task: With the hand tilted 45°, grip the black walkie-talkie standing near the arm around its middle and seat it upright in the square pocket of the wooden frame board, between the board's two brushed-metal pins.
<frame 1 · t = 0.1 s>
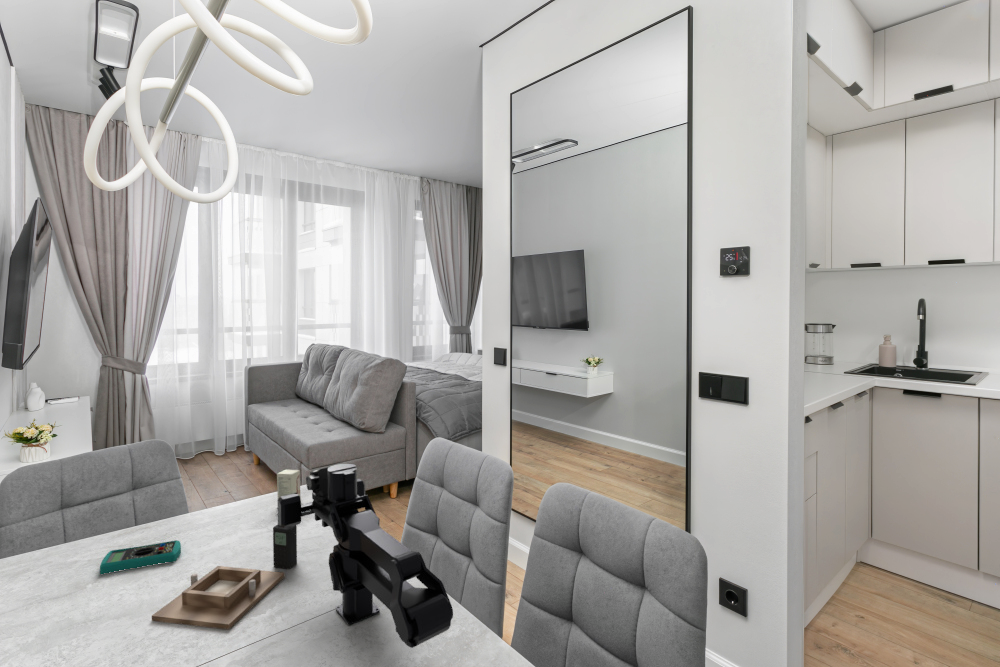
hand: (309, 491, 116), 17 cm above the table, tool horizontal, fingers open, 9 cm apart
digital multimeter: (142, 563, 116), on the table
walkie-talkie: (286, 565, 115), on the table
skincare box: (289, 505, 149), on the table
wooden frame board: (223, 597, 102), on the table
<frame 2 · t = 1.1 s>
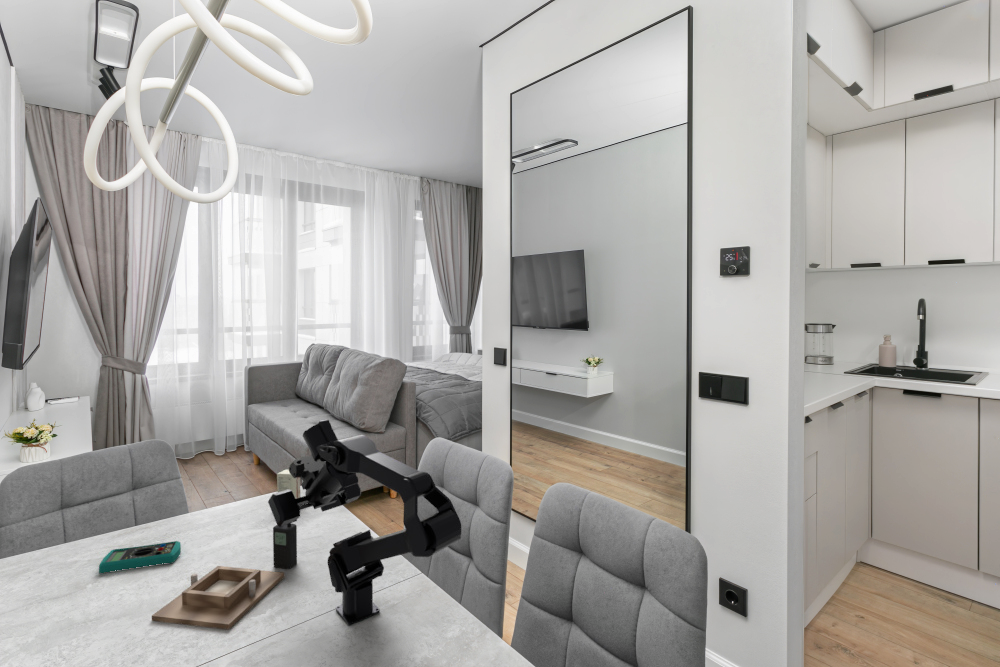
hand: (303, 516, 109), 14 cm above the table, tool tilted 45°, fingers open, 9 cm apart
nothing on the table moved.
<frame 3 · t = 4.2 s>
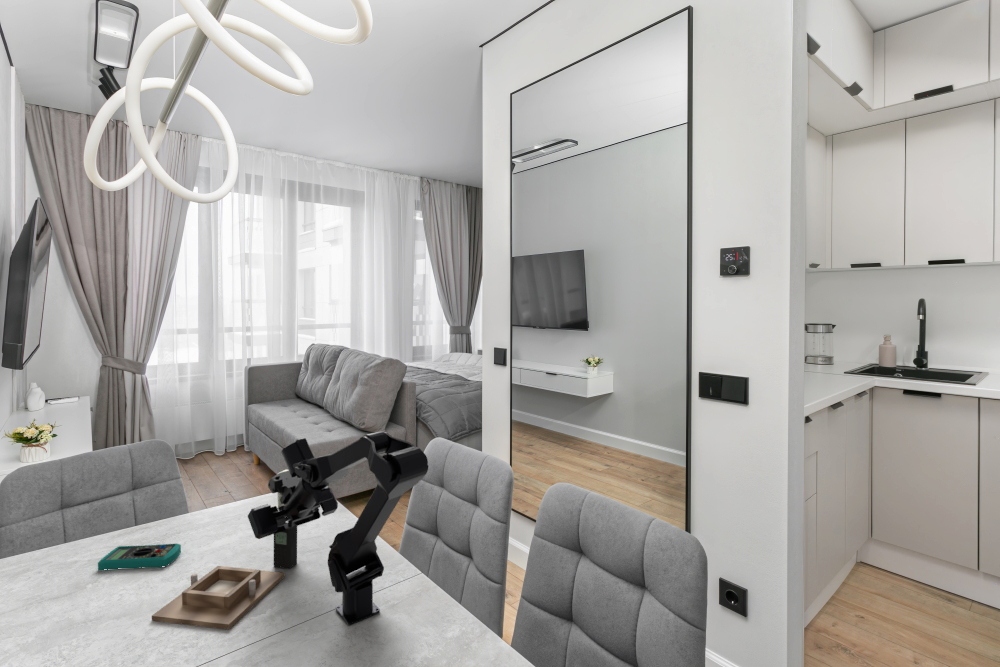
hand: (282, 528, 115), 8 cm above the table, tool tilted 45°, fingers closed on walkie-talkie, 4 cm apart
walkie-talkie: (286, 565, 115), on the table, touching gripper
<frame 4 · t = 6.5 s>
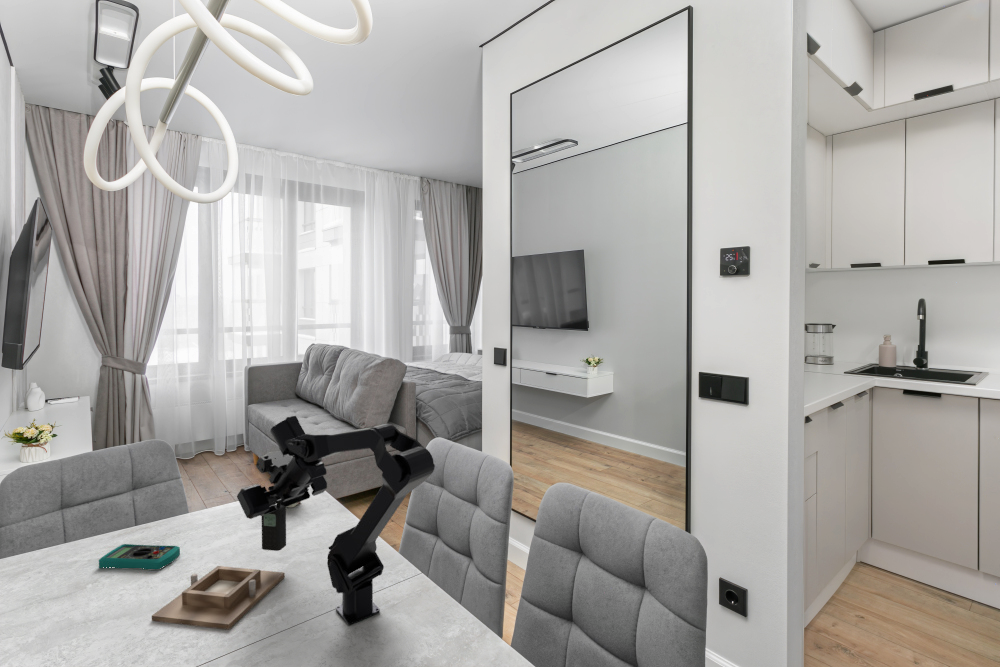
hand: (270, 510, 112), 13 cm above the table, tool tilted 45°, fingers closed on walkie-talkie, 4 cm apart
walkie-talkie: (274, 547, 112), point 5 cm above the table, touching gripper
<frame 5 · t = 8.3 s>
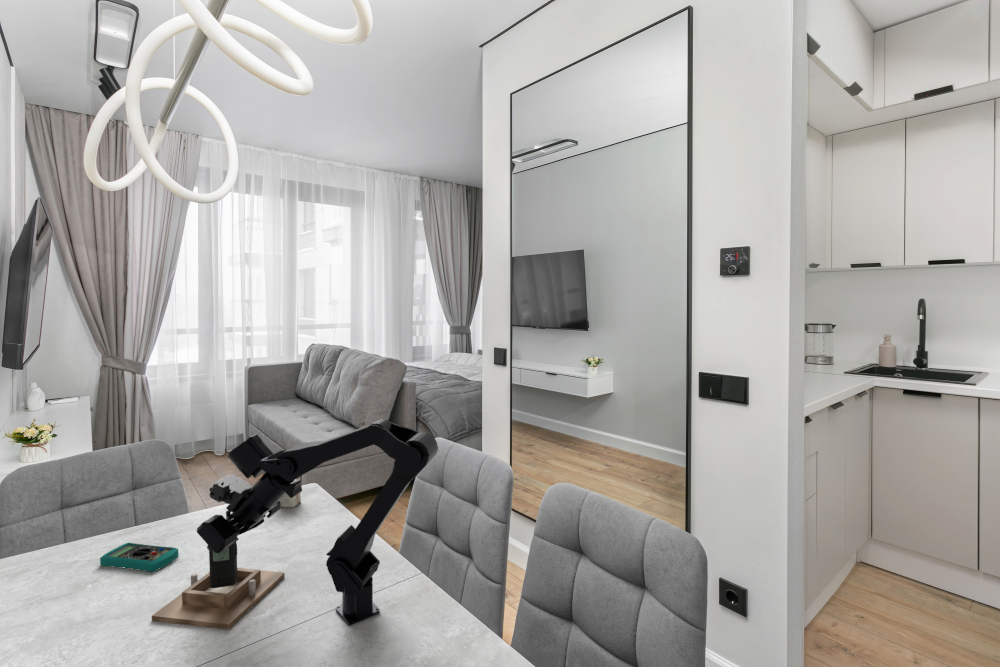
hand: (216, 543, 101), 11 cm above the table, tool tilted 45°, fingers closed on walkie-talkie, 4 cm apart
walkie-talkie: (224, 583, 102), point 3 cm above the table, touching gripper
when the fingers open (10 cm above the table, at t = 8.7 s): walkie-talkie drops 1 cm, resting on wooden frame board.
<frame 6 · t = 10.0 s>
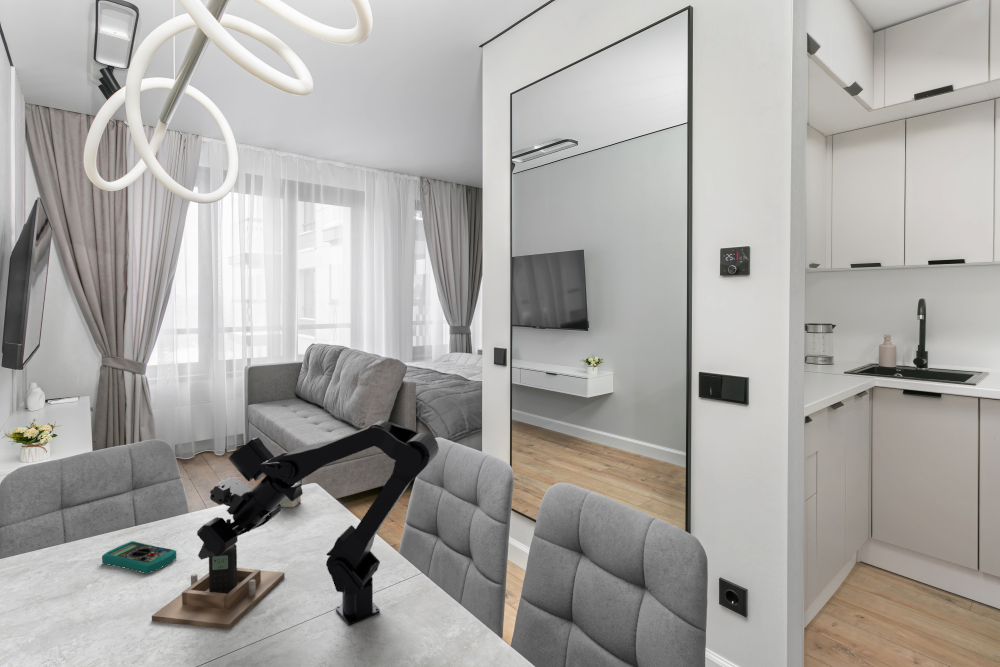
hand: (216, 546, 101), 11 cm above the table, tool tilted 45°, fingers open, 9 cm apart
walkie-talkie: (224, 592, 102), point 1 cm above the table, touching wooden frame board
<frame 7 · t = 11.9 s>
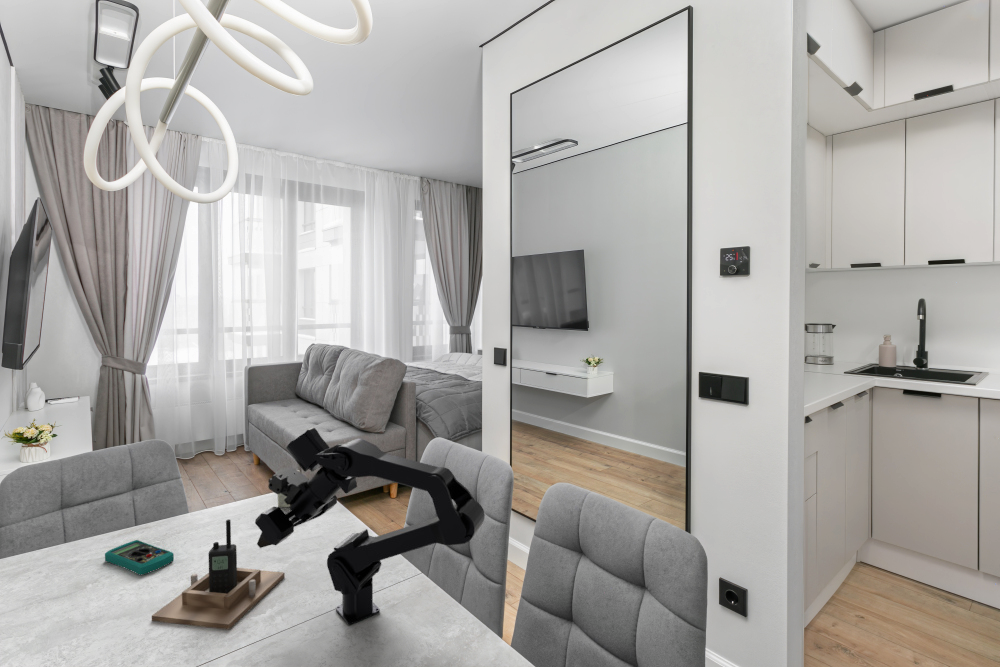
hand: (275, 535, 102), 13 cm above the table, tool tilted 45°, fingers open, 9 cm apart
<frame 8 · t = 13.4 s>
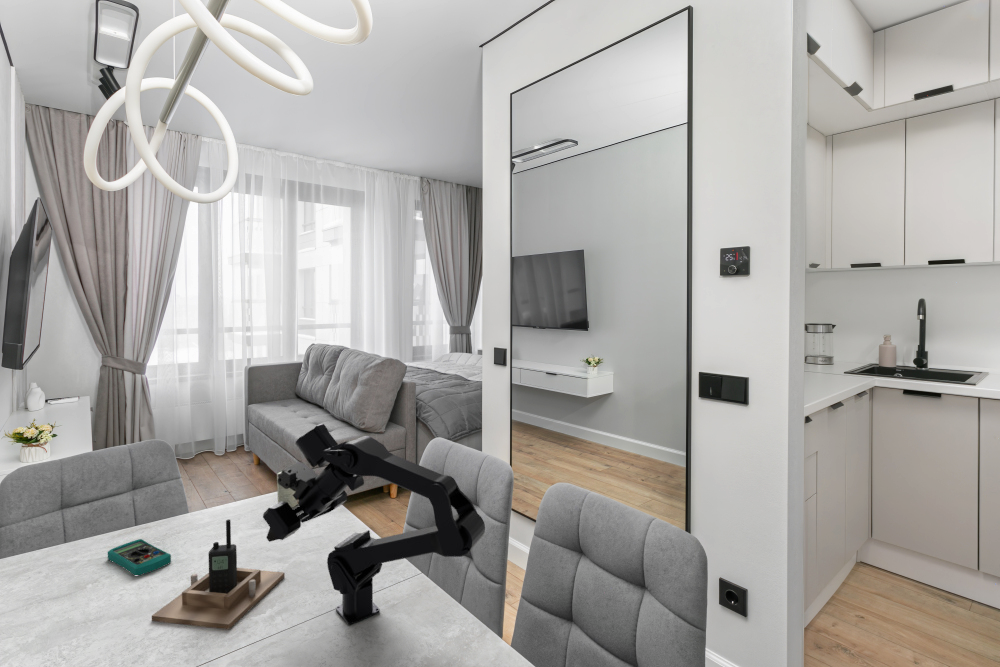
hand: (285, 529, 102), 14 cm above the table, tool tilted 45°, fingers open, 9 cm apart
at the end: walkie-talkie 0.2 cm off-centre on the wooden frame board, point 0.9 cm above the wooden frame board's base; walkie-talkie tilted 0°; the gripper is holding nothing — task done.
